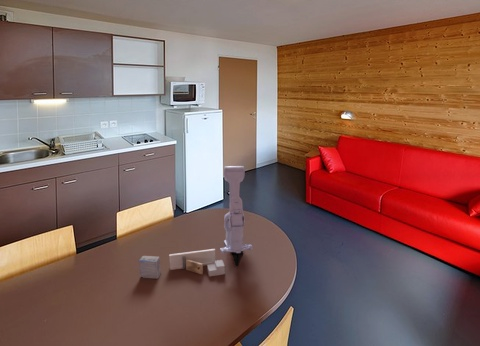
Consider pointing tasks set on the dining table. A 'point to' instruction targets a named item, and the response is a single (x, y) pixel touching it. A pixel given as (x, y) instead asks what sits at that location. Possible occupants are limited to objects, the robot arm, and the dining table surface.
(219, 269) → the pale grey notched block
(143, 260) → the medicine box
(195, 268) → the door
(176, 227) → the dining table surface
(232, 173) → the robot arm
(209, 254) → the wall shelf
